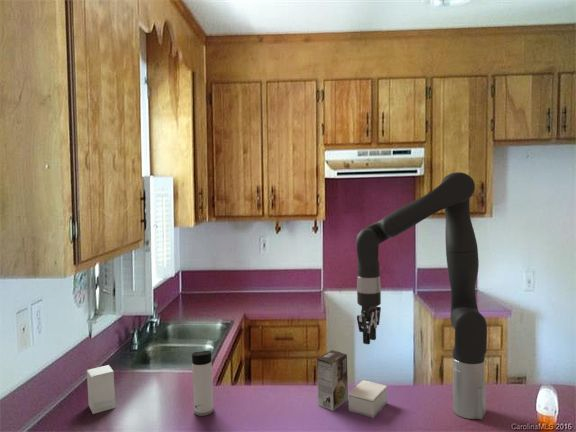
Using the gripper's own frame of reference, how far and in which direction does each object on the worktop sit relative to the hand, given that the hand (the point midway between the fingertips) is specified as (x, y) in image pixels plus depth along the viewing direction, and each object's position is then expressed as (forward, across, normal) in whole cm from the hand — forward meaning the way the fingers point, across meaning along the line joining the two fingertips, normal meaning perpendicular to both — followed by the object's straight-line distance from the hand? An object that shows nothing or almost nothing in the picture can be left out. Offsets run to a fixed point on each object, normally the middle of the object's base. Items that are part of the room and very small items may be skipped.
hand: (369, 341), depth 144 cm
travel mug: (+21, -32, +44) cm, 59 cm away
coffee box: (+21, -6, +11) cm, 25 cm away
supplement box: (+21, -48, +76) cm, 93 cm away
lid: (+16, -2, 0) cm, 16 cm away
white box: (+21, -2, 0) cm, 21 cm away
